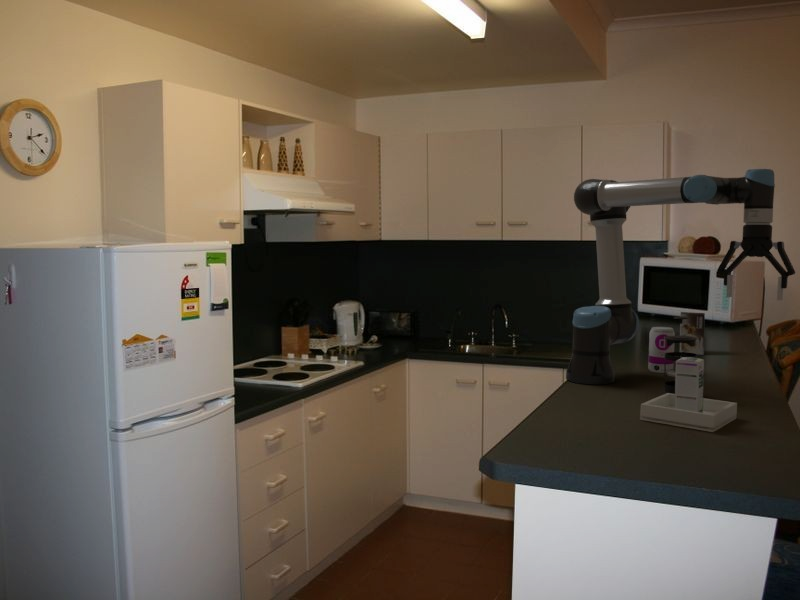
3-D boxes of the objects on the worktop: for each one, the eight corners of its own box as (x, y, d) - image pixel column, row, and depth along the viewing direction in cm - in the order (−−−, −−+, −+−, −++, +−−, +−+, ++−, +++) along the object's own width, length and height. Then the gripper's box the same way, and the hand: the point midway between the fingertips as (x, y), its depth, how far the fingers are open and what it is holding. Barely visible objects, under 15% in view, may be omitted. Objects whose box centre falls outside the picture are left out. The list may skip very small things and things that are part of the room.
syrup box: (697, 418, 188) (700, 361, 187) (673, 415, 191) (675, 359, 190) (703, 414, 193) (705, 358, 191) (679, 411, 196) (681, 356, 195)
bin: (640, 419, 191) (640, 404, 191) (666, 407, 205) (667, 392, 204) (713, 432, 179) (713, 415, 179) (736, 418, 193) (737, 403, 193)
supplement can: (675, 374, 253) (676, 329, 252) (649, 372, 255) (651, 329, 254) (671, 369, 261) (673, 326, 260) (646, 368, 263) (648, 326, 262)
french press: (697, 399, 213) (697, 319, 211) (662, 397, 217) (662, 318, 215) (698, 391, 224) (699, 314, 222) (665, 389, 227) (665, 314, 225)
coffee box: (703, 352, 299) (705, 312, 298) (703, 355, 293) (705, 314, 292) (679, 351, 302) (680, 311, 301) (678, 353, 297) (680, 313, 295)
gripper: (708, 224, 219) (705, 296, 221) (803, 223, 203) (798, 302, 205) (716, 224, 225) (713, 295, 226) (809, 224, 208) (805, 300, 210)
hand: (753, 298), depth 216 cm, fingers open, 13 cm apart
